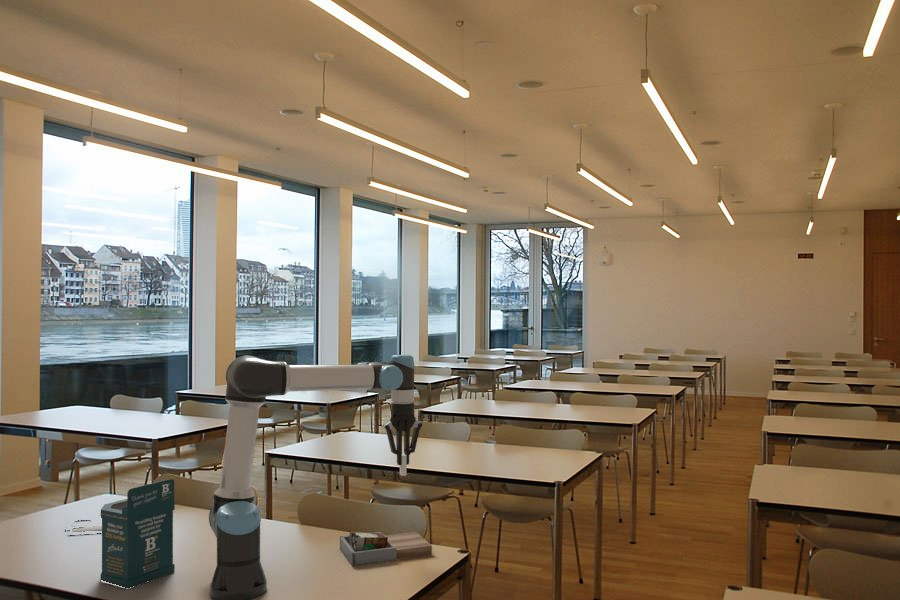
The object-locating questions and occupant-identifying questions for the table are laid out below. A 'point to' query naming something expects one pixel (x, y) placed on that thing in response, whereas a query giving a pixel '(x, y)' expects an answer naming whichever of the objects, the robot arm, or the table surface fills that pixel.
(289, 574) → the table surface
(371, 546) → the food container
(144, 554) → the donation box
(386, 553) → the tray
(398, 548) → the tan wooden flat block
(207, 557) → the table surface
